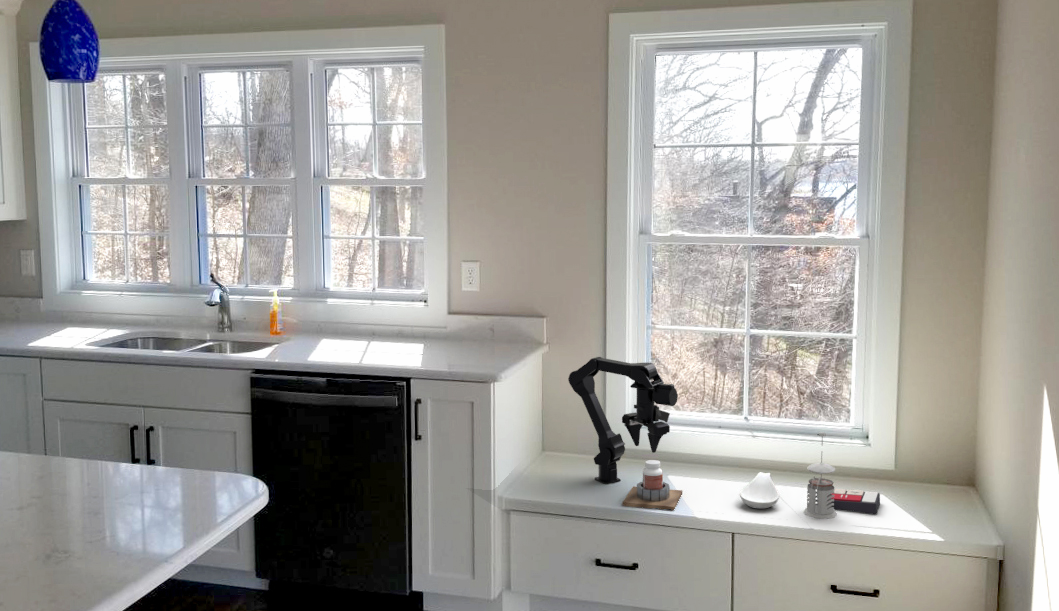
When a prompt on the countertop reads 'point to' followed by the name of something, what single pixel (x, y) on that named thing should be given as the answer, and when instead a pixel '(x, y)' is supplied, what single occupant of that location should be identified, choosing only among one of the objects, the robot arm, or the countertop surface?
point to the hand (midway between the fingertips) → (645, 449)
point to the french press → (820, 491)
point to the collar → (653, 493)
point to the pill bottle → (652, 475)
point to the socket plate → (666, 504)
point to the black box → (856, 501)
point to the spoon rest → (760, 492)
